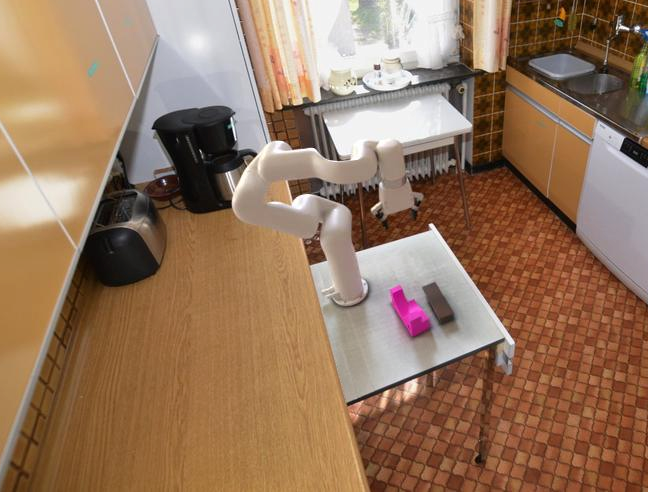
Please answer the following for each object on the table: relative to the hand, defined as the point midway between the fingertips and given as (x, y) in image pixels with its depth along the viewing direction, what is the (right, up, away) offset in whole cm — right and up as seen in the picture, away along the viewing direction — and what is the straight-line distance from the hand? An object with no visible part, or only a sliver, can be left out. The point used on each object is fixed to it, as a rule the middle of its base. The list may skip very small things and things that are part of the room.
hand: (400, 222), depth 141 cm
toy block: (+3, -31, +4) cm, 32 cm away
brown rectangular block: (+12, -28, +7) cm, 32 cm away
